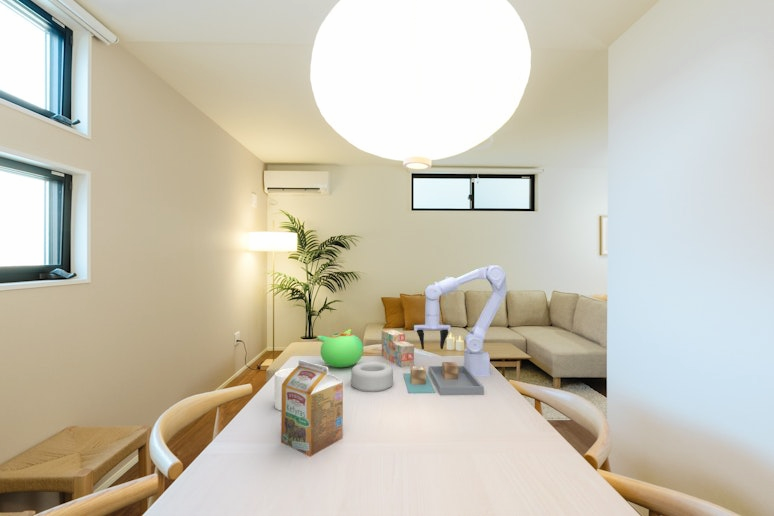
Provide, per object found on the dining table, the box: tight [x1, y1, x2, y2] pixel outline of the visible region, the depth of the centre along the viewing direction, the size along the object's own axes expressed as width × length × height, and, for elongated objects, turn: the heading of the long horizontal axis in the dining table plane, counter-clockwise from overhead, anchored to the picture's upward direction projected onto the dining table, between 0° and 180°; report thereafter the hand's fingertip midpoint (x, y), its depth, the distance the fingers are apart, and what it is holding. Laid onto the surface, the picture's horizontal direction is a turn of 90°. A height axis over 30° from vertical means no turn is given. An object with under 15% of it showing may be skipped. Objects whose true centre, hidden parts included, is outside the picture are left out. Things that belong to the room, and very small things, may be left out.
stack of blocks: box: [381, 329, 415, 368], centre depth 158 cm, size 21×6×12 cm, turn 23°
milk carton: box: [280, 359, 344, 457], centre depth 88 cm, size 11×11×19 cm
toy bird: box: [316, 328, 364, 368], centre depth 150 cm, size 18×17×15 cm
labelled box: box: [409, 365, 427, 385], centre depth 128 cm, size 5×5×5 cm
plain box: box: [441, 361, 459, 379], centre depth 135 cm, size 5×5×5 cm
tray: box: [428, 365, 485, 396], centre depth 129 cm, size 15×24×3 cm, turn 2°
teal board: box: [402, 372, 436, 394], centre depth 128 cm, size 9×20×1 cm, turn 3°
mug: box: [274, 367, 295, 412], centre depth 108 cm, size 12×8×10 cm
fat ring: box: [350, 361, 394, 393], centre depth 128 cm, size 15×15×7 cm
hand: (432, 348), depth 143 cm, fingers open, 7 cm apart
